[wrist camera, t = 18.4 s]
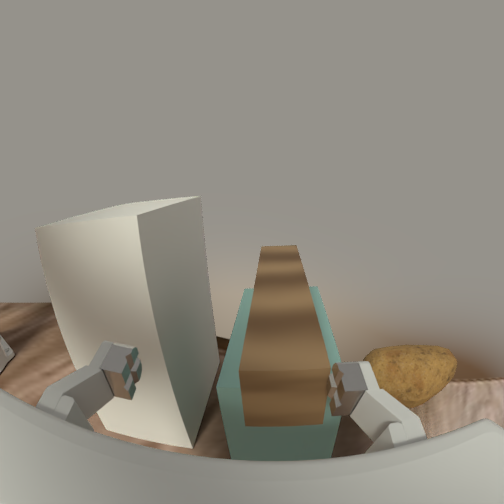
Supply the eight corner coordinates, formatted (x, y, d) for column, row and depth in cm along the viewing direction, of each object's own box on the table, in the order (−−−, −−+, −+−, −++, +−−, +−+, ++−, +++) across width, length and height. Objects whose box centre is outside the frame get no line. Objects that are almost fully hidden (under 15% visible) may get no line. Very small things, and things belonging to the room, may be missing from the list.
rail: (322, 424, 12) (330, 367, 11) (245, 426, 12) (238, 370, 11) (296, 278, 33) (296, 245, 32) (263, 279, 34) (261, 246, 33)
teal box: (239, 492, 20) (216, 386, 16) (252, 393, 35) (244, 288, 31) (320, 491, 19) (347, 383, 15) (311, 392, 34) (317, 286, 30)
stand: (106, 429, 27) (34, 228, 20) (152, 357, 44) (123, 204, 37) (192, 448, 26) (136, 215, 19) (219, 361, 43) (200, 196, 36)
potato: (454, 413, 24) (476, 366, 22) (356, 426, 27) (368, 379, 25) (435, 370, 33) (448, 326, 31) (351, 377, 36) (358, 332, 34)
